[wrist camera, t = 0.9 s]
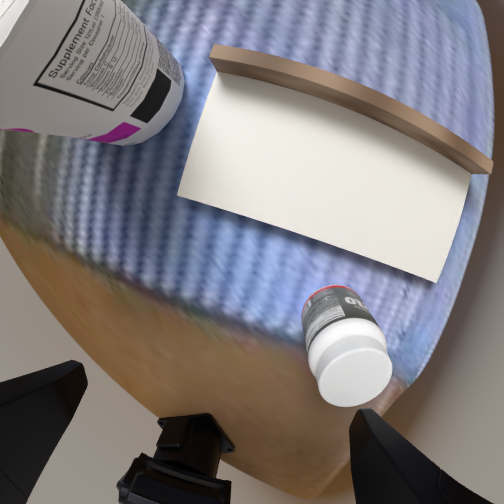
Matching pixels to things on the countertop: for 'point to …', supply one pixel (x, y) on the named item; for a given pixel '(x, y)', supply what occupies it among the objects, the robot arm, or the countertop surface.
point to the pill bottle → (344, 347)
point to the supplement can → (84, 71)
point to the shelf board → (329, 161)
